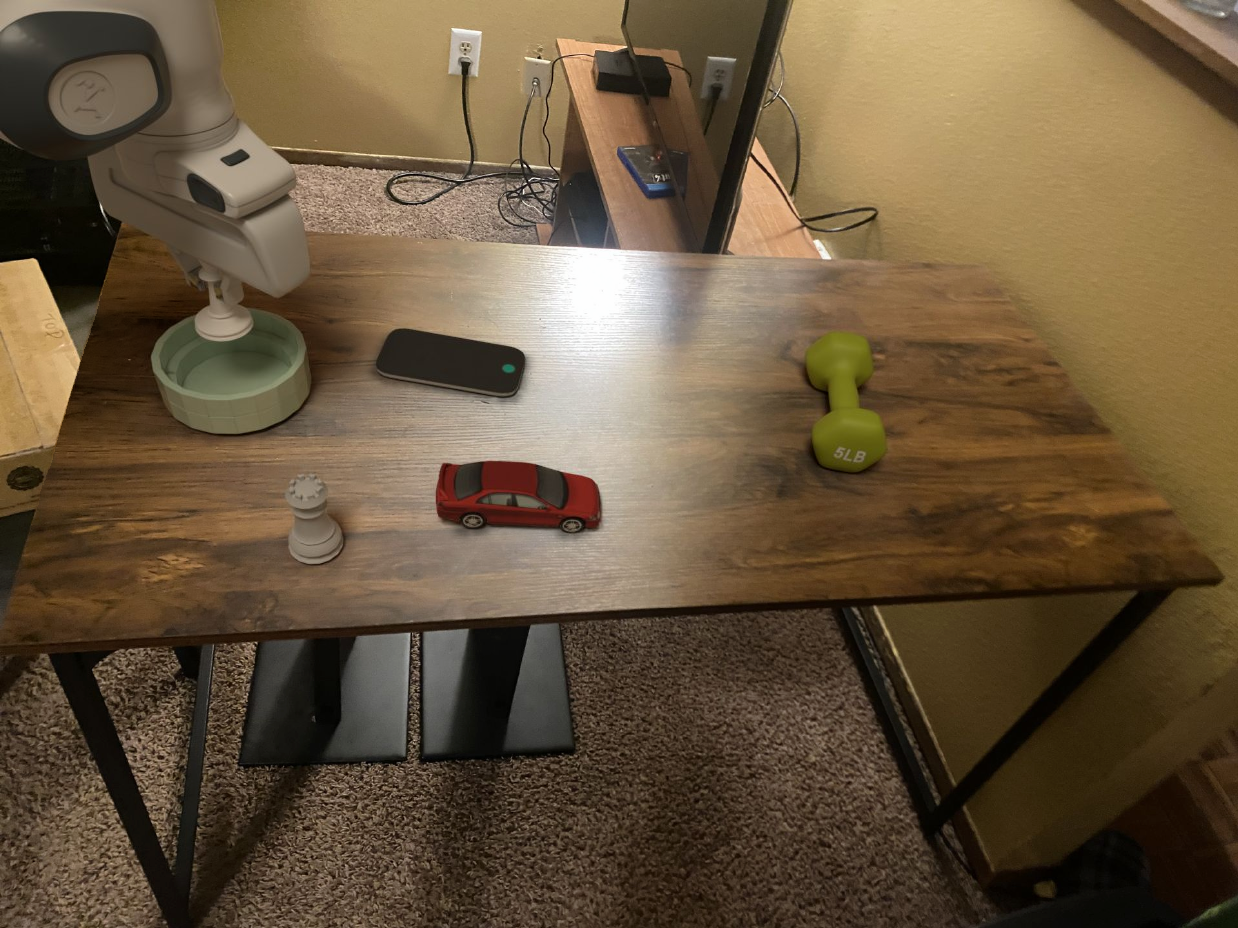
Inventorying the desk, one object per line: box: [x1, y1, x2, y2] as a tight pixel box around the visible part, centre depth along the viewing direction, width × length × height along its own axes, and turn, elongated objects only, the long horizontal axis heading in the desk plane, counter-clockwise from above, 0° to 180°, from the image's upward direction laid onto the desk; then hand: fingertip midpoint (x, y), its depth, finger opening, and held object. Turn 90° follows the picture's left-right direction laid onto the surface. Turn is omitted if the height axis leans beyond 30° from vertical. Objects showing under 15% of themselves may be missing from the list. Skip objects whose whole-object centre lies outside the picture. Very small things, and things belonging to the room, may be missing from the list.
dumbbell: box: [804, 330, 888, 473], centre depth 90 cm, size 16×8×7 cm, turn 174°
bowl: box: [150, 307, 312, 435], centre depth 81 cm, size 13×13×5 cm
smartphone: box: [375, 327, 526, 398], centre depth 89 cm, size 8×1×15 cm
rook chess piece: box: [284, 473, 344, 565], centre depth 69 cm, size 4×4×8 cm
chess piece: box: [195, 260, 253, 341], centre depth 73 cm, size 5×5×10 cm
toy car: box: [435, 460, 602, 534], centre depth 76 cm, size 6×15×5 cm, turn 91°
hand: (216, 293), depth 74 cm, fingers closed on chess piece
